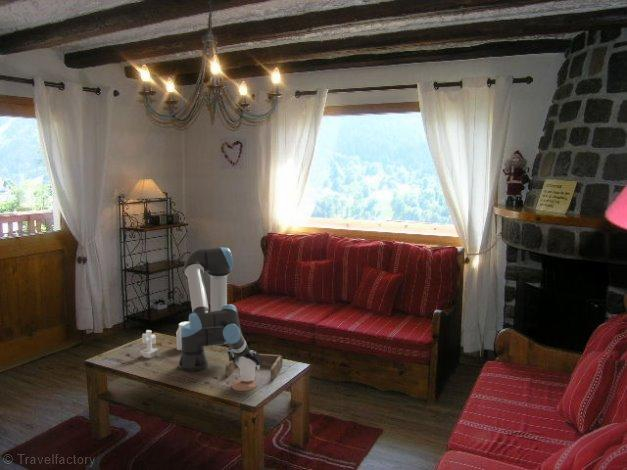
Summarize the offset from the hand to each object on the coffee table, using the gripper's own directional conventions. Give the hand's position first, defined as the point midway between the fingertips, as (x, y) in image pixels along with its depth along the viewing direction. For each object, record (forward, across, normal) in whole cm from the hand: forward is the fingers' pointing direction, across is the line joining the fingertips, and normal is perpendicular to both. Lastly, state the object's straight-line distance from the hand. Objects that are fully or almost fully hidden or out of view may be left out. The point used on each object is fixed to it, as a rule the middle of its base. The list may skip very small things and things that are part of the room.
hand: (249, 366), depth 252 cm
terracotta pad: (0, -1, -10) cm, 10 cm away
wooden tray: (+13, 0, +3) cm, 13 cm away
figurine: (+19, -64, +9) cm, 68 cm away
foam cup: (+2, 0, -6) cm, 6 cm away
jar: (+31, -49, +20) cm, 62 cm away
